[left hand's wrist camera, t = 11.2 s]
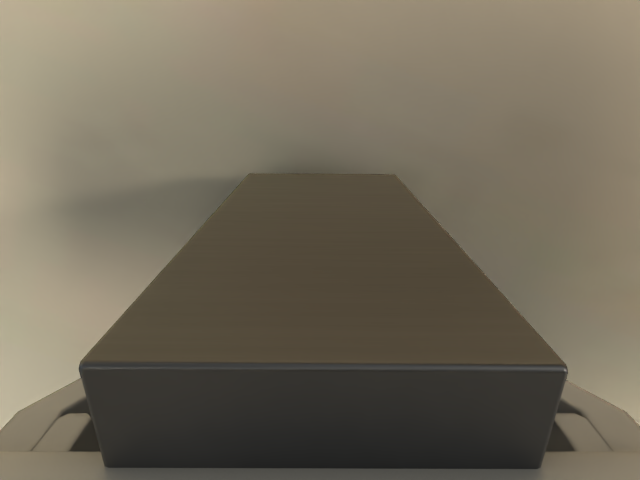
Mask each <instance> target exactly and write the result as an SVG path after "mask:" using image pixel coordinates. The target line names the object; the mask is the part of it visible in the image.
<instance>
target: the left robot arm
mask: <svg viewBox="0 0 640 480" xmlns="http://www.w3.org/2000/svg"><path fill="white" fill-rule="evenodd" d="M0 480H640V426H639V425H638V424H637V423H636V422H635V421H634V420H633V419H632V417H631V416H630V415H629V414H628V413H627V412H625V411H623V410H621V409H619V408H618V407H616V406H614V405H612V404H610V403H608V402H606V401H604V400H603V399H601V398H599V397H597V396H595V395H593V394H591V393H589V392H588V391H586V390H584V389H582V388H580V387H578V386H576V385H574V384H572V383H571V382H569V381H567V380H566V381H565V385H564V388H563V392H562V395H561V399H560V402H559V406H558V409H557V413H556V416H555V419H554V423H553V426H552V430H551V433H550V437H549V440H548V444H547V447H546V451H545V454H544V458H543V461H542V465H541V468H538V469H345V468H108V467H105V466H104V462H103V459H102V455H101V451H100V447H99V444H98V440H97V436H96V432H95V428H94V425H93V421H92V417H91V413H90V410H89V406H88V402H87V398H86V394H85V391H84V387H83V383H82V379H81V378H80V379H78V380H76V381H75V382H73V383H71V384H69V385H67V386H65V387H63V388H61V389H60V390H58V391H56V392H54V393H52V394H50V395H48V396H46V397H45V398H43V399H41V400H39V401H37V402H35V403H33V404H32V405H30V406H28V407H26V408H24V409H22V410H20V411H18V412H17V413H16V414H15V415H14V417H13V418H12V419H11V420H10V421H9V422H8V423H7V424H6V425H5V426H4V427H3V428H2V429H1V430H0Z"/></svg>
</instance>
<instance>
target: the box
mask: <svg viewBox="0 0 640 480" xmlns="http://www.w3.org/2000/svg"><path fill="white" fill-rule="evenodd" d="M79 372H80V376H81V379H82V383H83V387H84V391H85V394H86V398H87V402H88V406H89V410H90V413H91V417H92V421H93V425H94V428H95V432H96V436H97V440H98V444H99V447H100V451H101V455H102V459H103V462H104V466H105V467H108V468H345V469H538V468H541V465H542V461H543V458H544V454H545V451H546V447H547V444H548V440H549V437H550V433H551V430H552V426H553V423H554V419H555V416H556V413H557V409H558V406H559V402H560V399H561V395H562V392H563V388H564V385H565V381H566V378H567V374H568V370H567V366H566V364H565V363H564V362H563V361H562V360H561V359H560V357H559V356H558V355H557V354H556V353H555V352H554V351H553V350H552V349H551V347H550V346H549V345H548V344H547V343H546V342H545V341H544V340H543V339H542V337H541V336H540V335H539V334H538V333H537V332H536V331H535V330H534V329H533V327H532V326H531V325H530V324H529V323H528V322H527V321H526V320H525V319H524V317H523V316H522V315H521V314H520V313H519V312H518V311H517V310H516V309H515V307H514V306H513V305H512V304H511V303H510V302H509V301H508V300H507V299H506V297H505V296H504V295H503V294H502V293H501V292H500V291H499V290H498V289H497V287H496V286H495V285H494V284H493V283H492V282H491V281H490V280H489V279H488V277H487V276H486V275H485V274H484V273H483V272H482V271H481V270H480V268H479V267H478V266H477V265H476V264H475V263H474V262H473V261H472V260H471V258H470V257H469V256H468V255H467V254H466V253H465V252H464V251H463V250H462V248H461V247H460V246H459V245H458V244H457V243H456V242H455V241H454V240H453V238H452V237H451V236H450V235H449V234H448V233H447V232H446V231H445V230H444V228H443V227H442V226H441V225H440V224H439V223H438V222H437V221H436V220H435V218H434V217H433V216H432V215H431V214H430V213H429V212H428V211H427V210H426V208H425V207H424V206H423V205H422V204H421V203H420V202H419V201H418V200H417V198H416V197H415V196H414V195H413V194H412V193H411V192H410V191H409V190H408V188H407V187H406V186H405V185H404V184H403V183H402V182H401V181H400V180H399V178H398V177H397V176H396V175H394V174H255V173H250V174H248V176H247V177H246V178H245V179H244V180H243V181H242V182H241V183H240V184H239V186H238V187H237V188H236V189H235V190H234V191H233V192H232V193H231V194H230V196H229V197H228V198H227V199H226V200H225V201H224V202H223V203H222V204H221V206H220V207H219V208H218V209H217V210H216V211H215V212H214V213H213V214H212V216H211V217H210V218H209V219H208V220H207V221H206V222H205V223H204V225H203V226H202V227H201V228H200V229H199V230H198V231H197V232H196V233H195V235H194V236H193V237H192V238H191V239H190V240H189V241H188V242H187V243H186V245H185V246H184V247H183V248H182V249H181V250H180V251H179V252H178V253H177V255H176V256H175V257H174V258H173V259H172V260H171V261H170V262H169V263H168V265H167V266H166V267H165V268H164V269H163V270H162V271H161V272H160V274H159V275H158V276H157V277H156V278H155V279H154V280H153V281H152V282H151V284H150V285H149V286H148V287H147V288H146V289H145V290H144V291H143V292H142V294H141V295H140V296H139V297H138V298H137V299H136V300H135V301H134V302H133V304H132V305H131V306H130V307H129V308H128V309H127V310H126V311H125V312H124V314H123V315H122V316H121V317H120V318H119V319H118V320H117V321H116V323H115V324H114V325H113V326H112V327H111V328H110V329H109V330H108V331H107V333H106V334H105V335H104V336H103V337H102V338H101V339H100V340H99V341H98V343H97V344H96V345H95V346H94V347H93V348H92V349H91V350H90V351H89V353H88V354H87V355H86V356H85V357H84V358H83V359H82V360H81V362H80V365H79Z"/></svg>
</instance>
